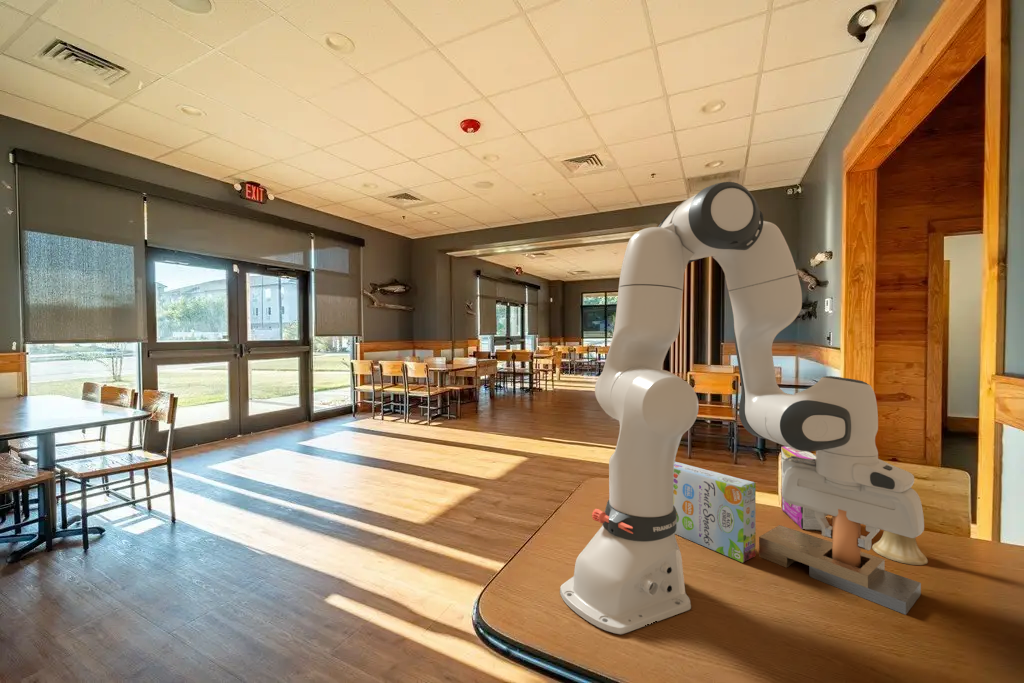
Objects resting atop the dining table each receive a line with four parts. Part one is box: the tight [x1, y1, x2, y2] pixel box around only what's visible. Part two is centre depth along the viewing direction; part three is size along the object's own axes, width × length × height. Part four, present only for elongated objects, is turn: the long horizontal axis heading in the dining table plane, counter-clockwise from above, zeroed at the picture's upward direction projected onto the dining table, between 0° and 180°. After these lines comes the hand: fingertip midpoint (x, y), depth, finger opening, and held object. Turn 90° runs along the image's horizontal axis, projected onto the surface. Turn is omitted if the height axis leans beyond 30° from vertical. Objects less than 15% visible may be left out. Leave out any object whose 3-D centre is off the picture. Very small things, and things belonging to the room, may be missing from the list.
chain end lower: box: [808, 565, 922, 616], centre depth 75 cm, size 9×13×2 cm
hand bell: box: [871, 530, 929, 566], centre depth 85 cm, size 8×8×16 cm
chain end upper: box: [758, 524, 886, 588], centre depth 80 cm, size 9×17×4 cm, turn 35°
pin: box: [831, 509, 861, 568], centre depth 77 cm, size 4×4×12 cm
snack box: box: [673, 461, 757, 563], centre depth 92 cm, size 21×6×15 cm, turn 34°
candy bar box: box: [780, 446, 822, 532], centre depth 101 cm, size 11×5×16 cm, turn 168°
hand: (846, 542), depth 77 cm, fingers closed on pin, 4 cm apart
